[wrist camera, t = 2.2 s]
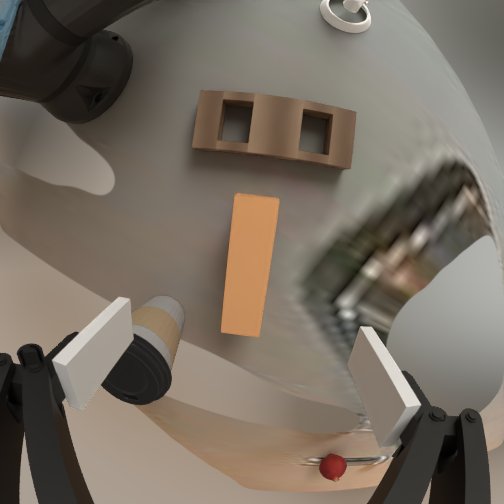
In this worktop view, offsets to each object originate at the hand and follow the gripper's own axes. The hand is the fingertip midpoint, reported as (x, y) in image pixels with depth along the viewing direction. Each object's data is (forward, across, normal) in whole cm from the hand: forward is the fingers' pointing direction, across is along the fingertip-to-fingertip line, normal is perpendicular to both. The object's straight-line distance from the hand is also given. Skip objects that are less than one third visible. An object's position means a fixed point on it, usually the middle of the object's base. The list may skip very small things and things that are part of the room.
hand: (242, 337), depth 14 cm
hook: (+21, +9, +36) cm, 42 cm away
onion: (+21, +22, -44) cm, 54 cm away
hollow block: (+21, +1, +15) cm, 25 cm away
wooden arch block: (+21, 0, 0) cm, 21 cm away
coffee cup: (+21, -11, -11) cm, 26 cm away
